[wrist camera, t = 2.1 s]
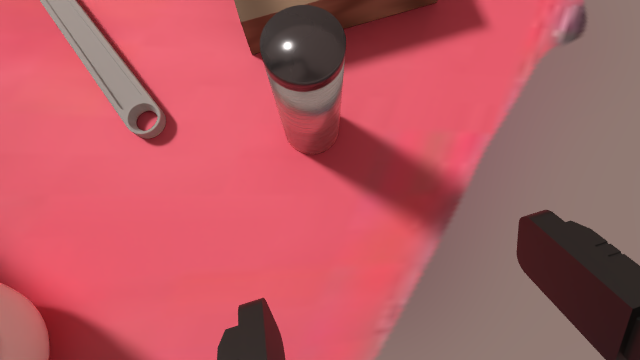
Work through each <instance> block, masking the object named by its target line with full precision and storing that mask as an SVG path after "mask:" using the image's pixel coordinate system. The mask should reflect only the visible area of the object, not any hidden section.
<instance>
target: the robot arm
mask: <svg viewBox="0 0 640 360" xmlns="http://www.w3.org/2000/svg"><path fill="white" fill-rule="evenodd" d="M517 258H518V262H519V264H520V266H521V268H522V269H523V271H524V272H525V273H526V274H527V276H529V278H530V279H531V280H532V281H533V282H534V283H535V284H536V285H537V286H538V287H539V288H540V290H541V291H542V292H543V293H544V294H545V295H546V296H547V297H548V298H549V299H550V300H551V301H552V302H553V303H554V305H555V306H557V308H558V309H559V310H560V311H561V312H562V313H563V314H564V315H565V316H566V317H567V319H568V320H569V321H570V322H571V323H572V324H573V325H574V326H575V327H576V328H577V329H578V330H579V331H580V332H581V334H582V335H583V336H584V337H585V338H586V339H587V340H588V341H589V342H590V343H591V344H592V345H593V347H594V348H596V350H597V351H598V352H599V353H600V354H601V355H602V356H603V357H604V358H605V359H606V360H640V266H639V265H638V264H637V263H635V262H634V261H633V260H631V259H630V258H629V257H627V256H626V255H625V254H621V251H619V250H618V249H617V248H615V247H614V246H613V245H611V244H608V243H607V241H606V240H605V239H603V238H602V237H601V236H600V235H598V234H597V233H595V232H594V231H593V230H591V229H590V228H587V227H585V226H582V225H580V224H578V223H575V222H573V221H568V222H564V221H563V220H562V219H561V218H559V217H558V216H557V215H555V214H554V213H553V212H551V211H549V210H543V211H540V212H537V213H533V214H530V215H527V216H524V217H521V218H520V220H519V229H518V242H517ZM217 360H285V353H284V347H283V342H282V338H281V334H280V331H279V329H278V326H277V324H276V322H275V320H274V318H273V315H272V313H271V311H270V309H269V307H268V304H267V302H266V300H265V299H264V298H261V299H258V300H255V301H252V302H248V303H245V304H242V305H239V308H238V326H235V327H232V328H229V329H226V330H225V332H224V334H223V337H222V339H221V341H220V344H219V346H218V354H217Z"/></svg>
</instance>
